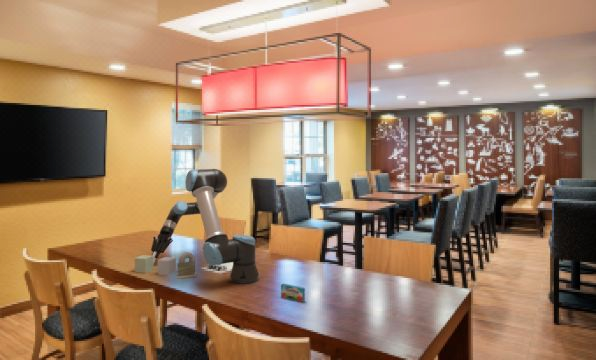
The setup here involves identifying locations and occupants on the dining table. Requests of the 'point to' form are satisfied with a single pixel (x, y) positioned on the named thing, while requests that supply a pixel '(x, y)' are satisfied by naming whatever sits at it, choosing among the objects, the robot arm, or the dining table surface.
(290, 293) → the flat green printed box
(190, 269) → the card
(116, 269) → the dining table surface
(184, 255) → the donut
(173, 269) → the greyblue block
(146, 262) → the sage block
